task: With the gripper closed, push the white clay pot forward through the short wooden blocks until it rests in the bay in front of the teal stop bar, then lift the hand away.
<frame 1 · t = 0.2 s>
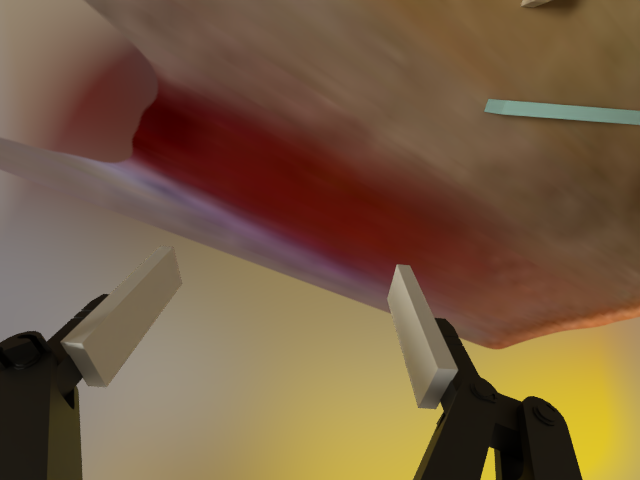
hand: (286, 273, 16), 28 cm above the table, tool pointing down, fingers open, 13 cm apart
stop bar: (551, 110, 36), on the table
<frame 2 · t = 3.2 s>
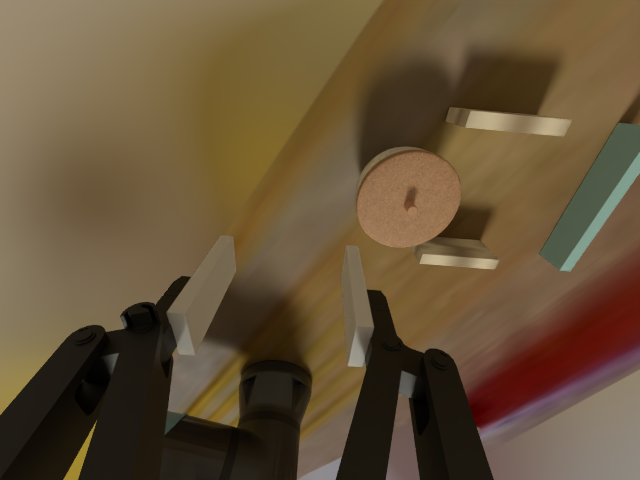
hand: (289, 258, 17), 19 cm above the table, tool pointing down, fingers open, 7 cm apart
wooden blocks: (464, 187, 34), on the table
lidded jar: (391, 180, 34), on the table
stop bar: (578, 197, 34), on the table
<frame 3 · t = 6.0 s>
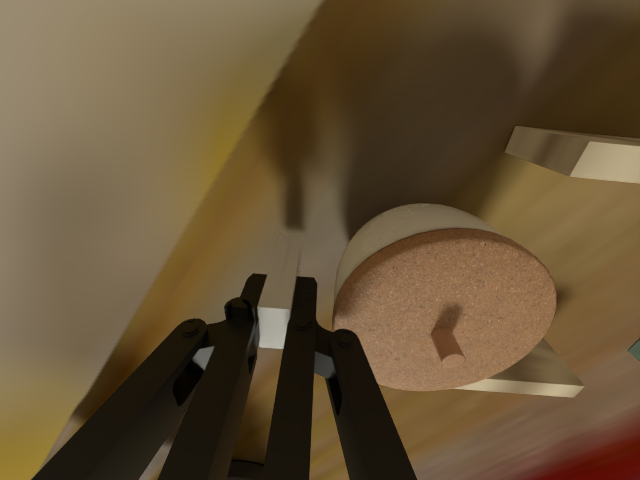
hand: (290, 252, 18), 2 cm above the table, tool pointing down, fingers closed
wooden blocks: (524, 259, 20), on the table
lidded jar: (400, 247, 20), on the table, touching gripper
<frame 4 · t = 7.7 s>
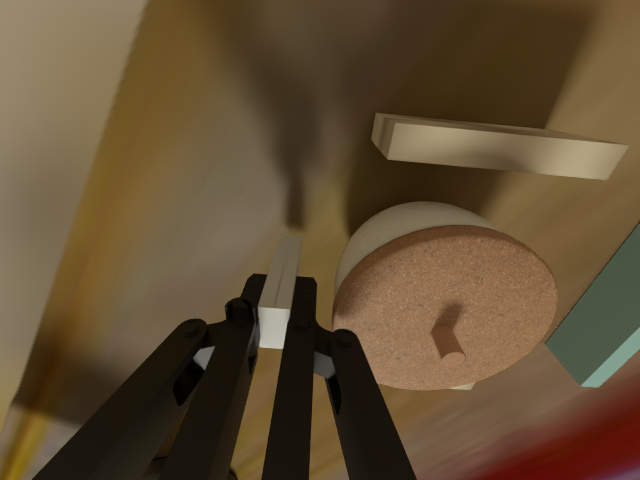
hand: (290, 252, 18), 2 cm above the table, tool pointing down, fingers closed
wooden blocks: (418, 250, 20), on the table
lidded jar: (401, 246, 20), on the table, touching gripper
stop bar: (614, 267, 20), on the table
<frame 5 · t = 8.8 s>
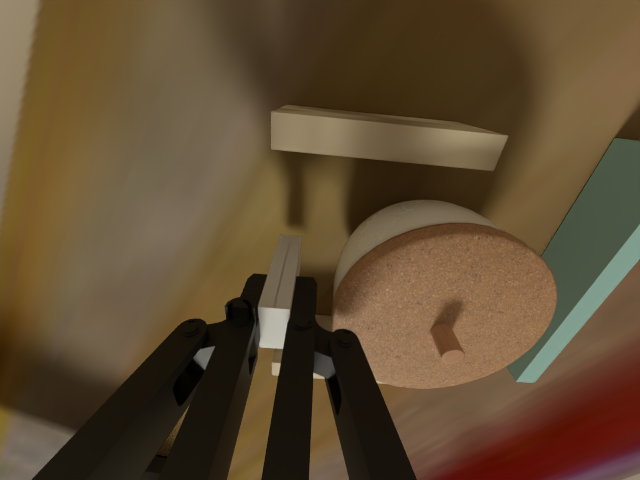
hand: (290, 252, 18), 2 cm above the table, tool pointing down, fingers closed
wooden blocks: (350, 245, 20), on the table
lidded jar: (400, 244, 20), on the table, touching gripper
stop bar: (547, 262, 20), on the table
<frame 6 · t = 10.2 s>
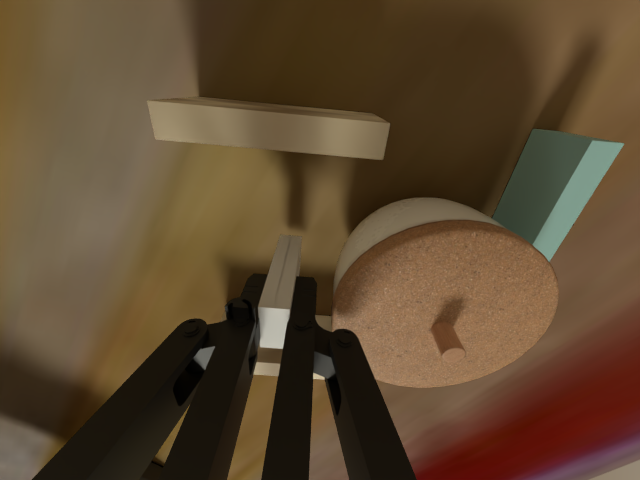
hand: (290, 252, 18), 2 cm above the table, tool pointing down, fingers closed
wooden blocks: (284, 239, 20), on the table
lidded jar: (400, 243, 20), on the table, touching gripper
stop bar: (484, 256, 20), on the table
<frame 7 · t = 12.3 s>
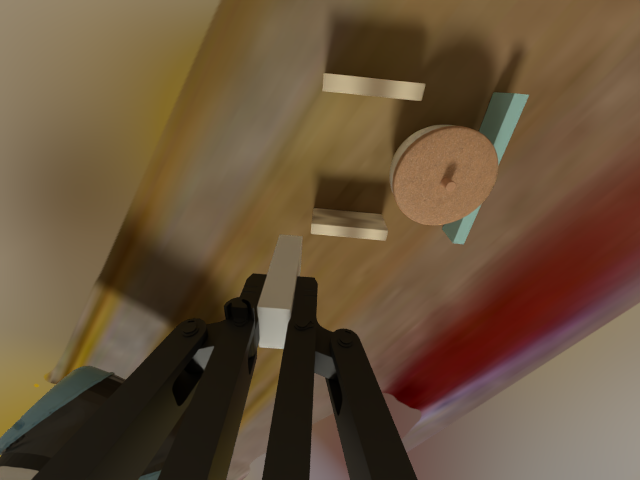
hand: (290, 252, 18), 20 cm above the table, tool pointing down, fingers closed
wooden blocks: (355, 159, 35), on the table
lidded jar: (422, 161, 35), on the table
stop bar: (470, 170, 35), on the table
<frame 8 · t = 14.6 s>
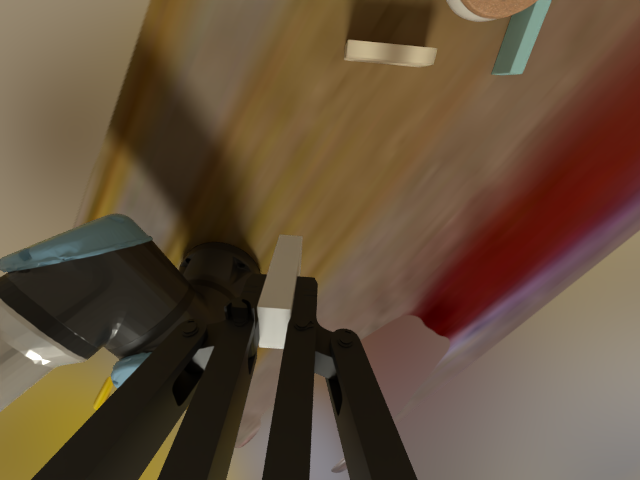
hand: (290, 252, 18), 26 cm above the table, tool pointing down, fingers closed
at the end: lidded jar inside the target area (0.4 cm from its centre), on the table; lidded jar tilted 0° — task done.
